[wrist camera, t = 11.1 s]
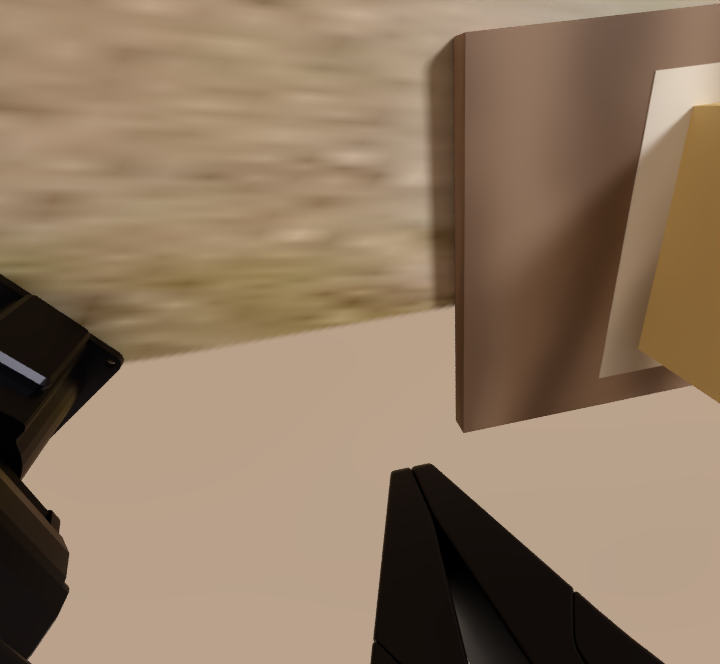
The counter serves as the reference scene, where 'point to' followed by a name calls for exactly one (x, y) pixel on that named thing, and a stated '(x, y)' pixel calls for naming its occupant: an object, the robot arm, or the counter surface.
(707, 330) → the t block
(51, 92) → the counter surface
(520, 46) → the walnut board
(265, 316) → the counter surface
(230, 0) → the counter surface
